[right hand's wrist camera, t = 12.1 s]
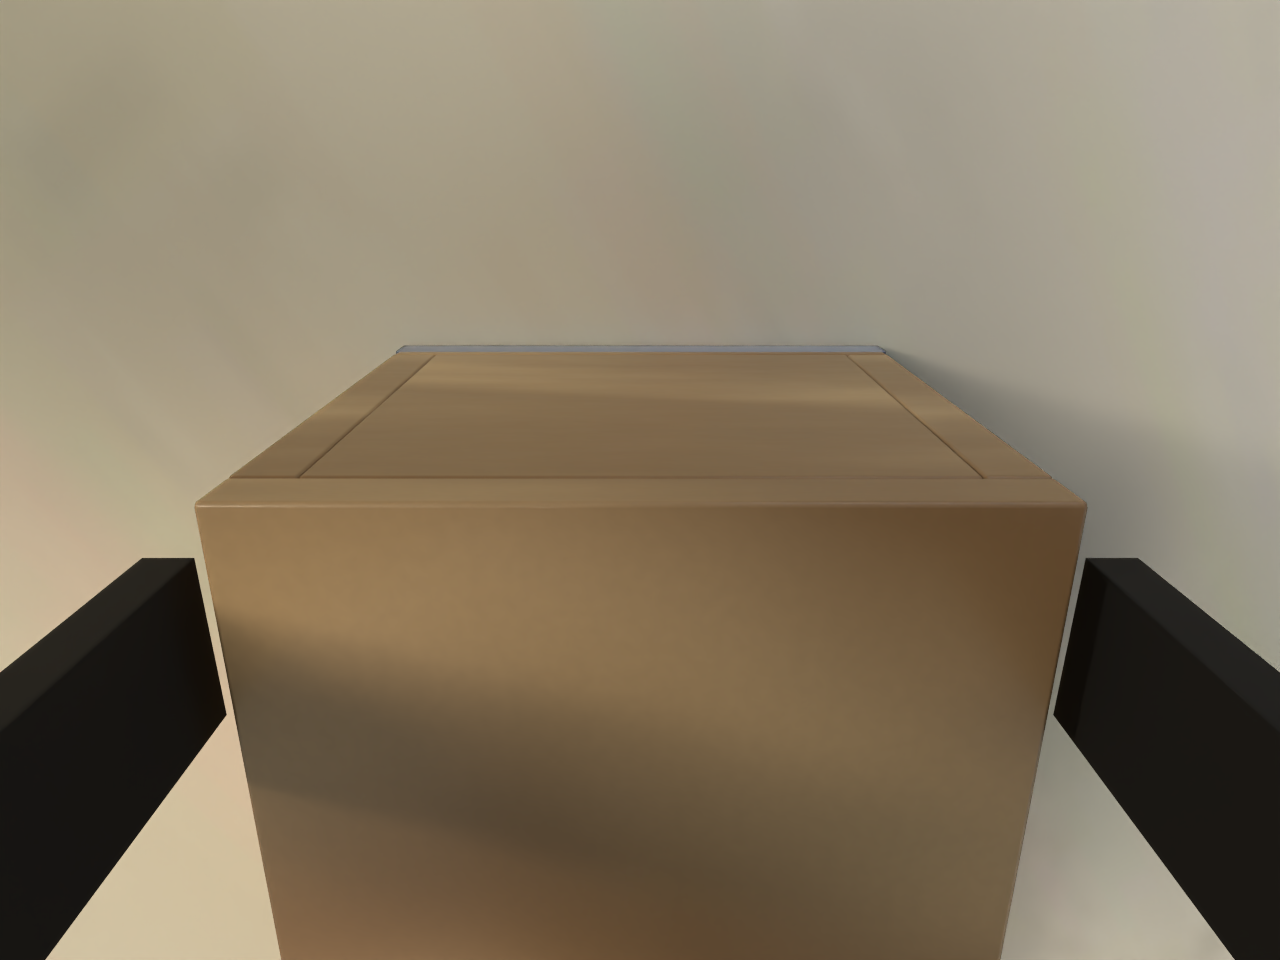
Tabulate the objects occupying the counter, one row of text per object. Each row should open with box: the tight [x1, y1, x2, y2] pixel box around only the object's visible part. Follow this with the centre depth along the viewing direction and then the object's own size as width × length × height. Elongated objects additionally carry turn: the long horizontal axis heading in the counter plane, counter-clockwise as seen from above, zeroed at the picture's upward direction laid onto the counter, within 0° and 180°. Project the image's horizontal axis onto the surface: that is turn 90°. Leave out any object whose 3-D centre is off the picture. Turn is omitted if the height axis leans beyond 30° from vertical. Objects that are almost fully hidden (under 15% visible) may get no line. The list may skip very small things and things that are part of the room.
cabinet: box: [195, 346, 1087, 960], centre depth 19 cm, size 17×12×10 cm
